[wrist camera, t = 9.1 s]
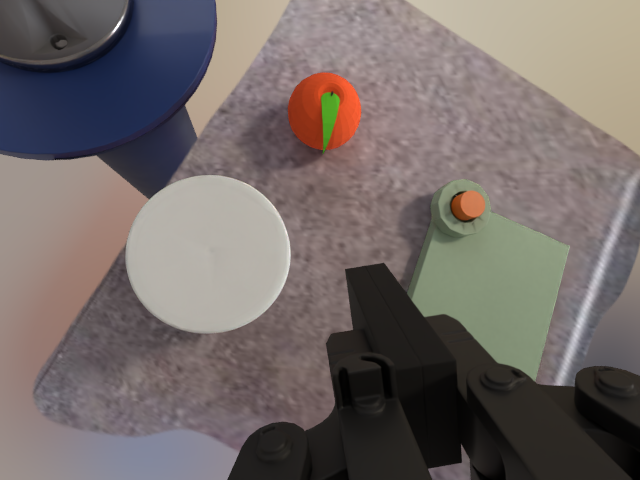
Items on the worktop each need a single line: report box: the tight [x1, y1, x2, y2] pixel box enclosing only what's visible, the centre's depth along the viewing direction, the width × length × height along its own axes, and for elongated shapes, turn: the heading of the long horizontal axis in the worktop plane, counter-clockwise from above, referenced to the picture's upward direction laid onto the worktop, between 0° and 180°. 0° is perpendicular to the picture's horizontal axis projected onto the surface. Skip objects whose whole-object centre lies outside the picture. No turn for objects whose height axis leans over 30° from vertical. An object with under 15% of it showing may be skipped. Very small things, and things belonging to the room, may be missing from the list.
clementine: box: [288, 73, 361, 153], centre depth 36 cm, size 8×7×7 cm
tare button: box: [451, 190, 485, 220], centre depth 37 cm, size 3×3×2 cm
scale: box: [407, 179, 570, 381], centre depth 38 cm, size 17×16×4 cm
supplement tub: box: [125, 175, 290, 334], centre depth 29 cm, size 10×10×15 cm
